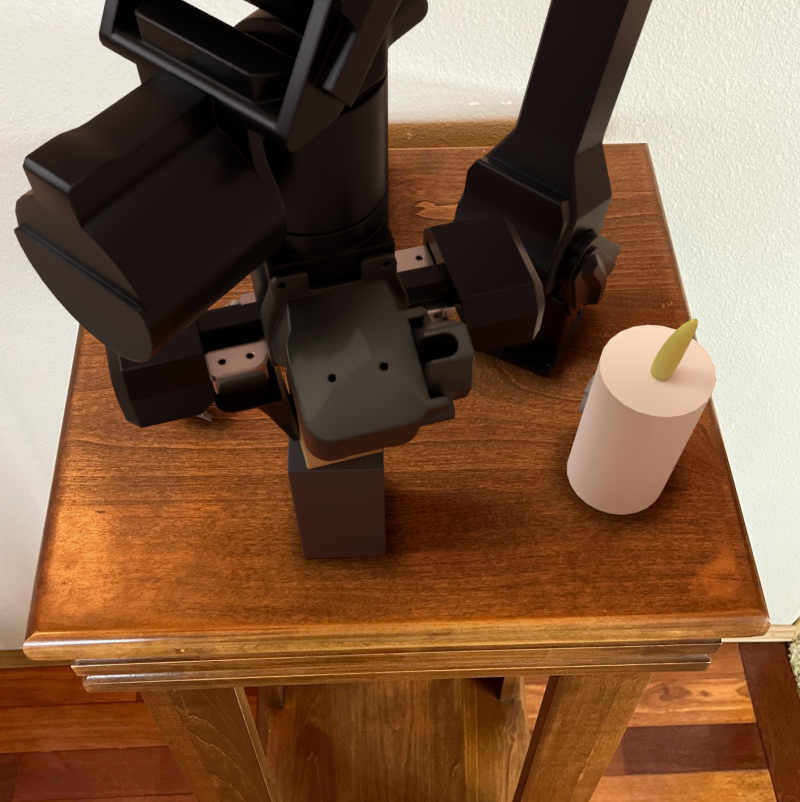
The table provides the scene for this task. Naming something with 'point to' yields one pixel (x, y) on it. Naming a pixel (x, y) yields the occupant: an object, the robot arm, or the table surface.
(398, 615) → the table surface
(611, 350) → the candle
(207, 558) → the table surface
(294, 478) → the stand
